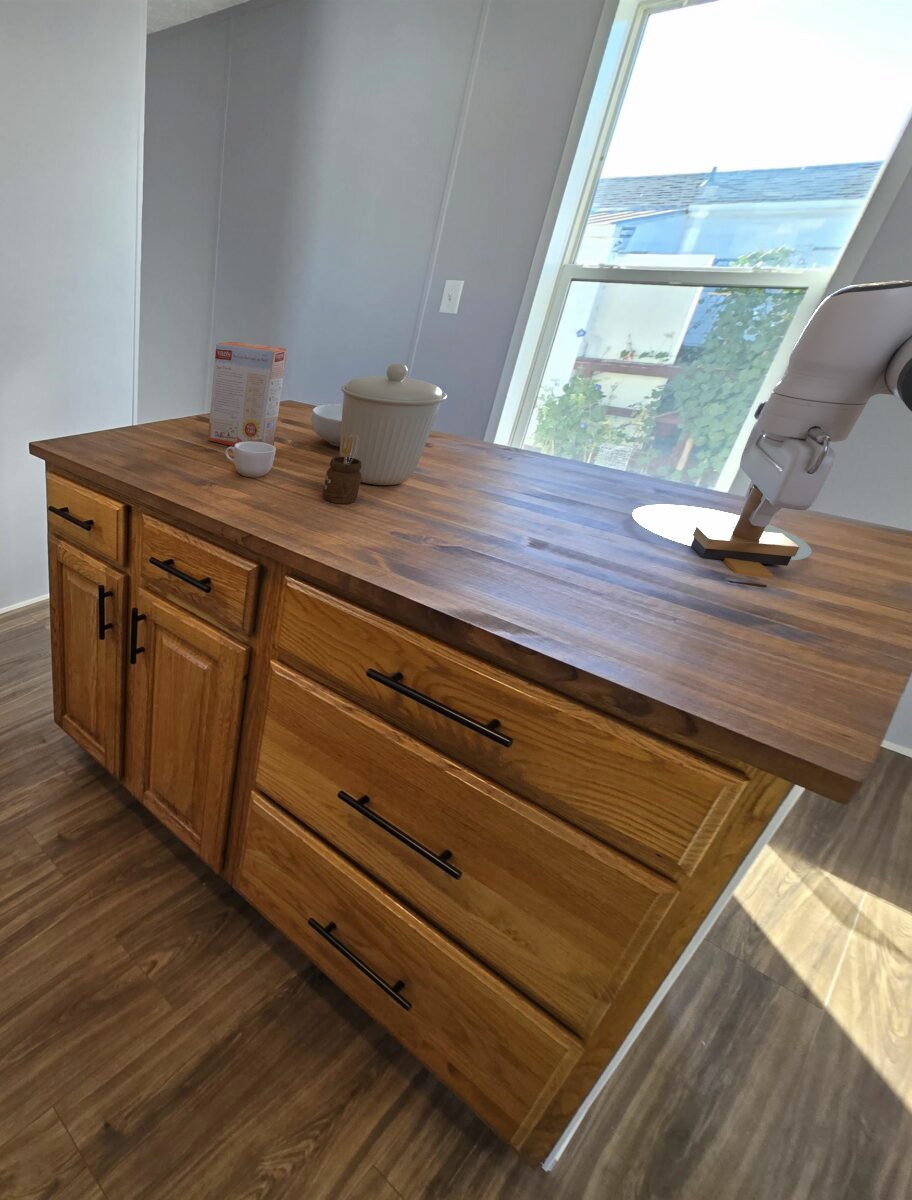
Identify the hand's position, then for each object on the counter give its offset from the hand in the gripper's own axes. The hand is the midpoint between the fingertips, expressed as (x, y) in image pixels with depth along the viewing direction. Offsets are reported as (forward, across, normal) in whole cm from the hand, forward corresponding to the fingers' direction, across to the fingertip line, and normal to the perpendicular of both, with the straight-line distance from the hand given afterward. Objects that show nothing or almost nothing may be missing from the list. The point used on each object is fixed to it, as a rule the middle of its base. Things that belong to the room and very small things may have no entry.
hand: (752, 519), depth 91 cm
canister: (+7, +13, +52) cm, 54 cm away
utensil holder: (+7, -3, +55) cm, 56 cm away
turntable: (+7, +11, 0) cm, 13 cm away
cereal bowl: (+7, +34, +62) cm, 71 cm away
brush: (+6, 0, 0) cm, 6 cm away
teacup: (+7, +2, +74) cm, 74 cm away
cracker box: (+7, +20, +82) cm, 85 cm away
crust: (+7, -4, -1) cm, 9 cm away
